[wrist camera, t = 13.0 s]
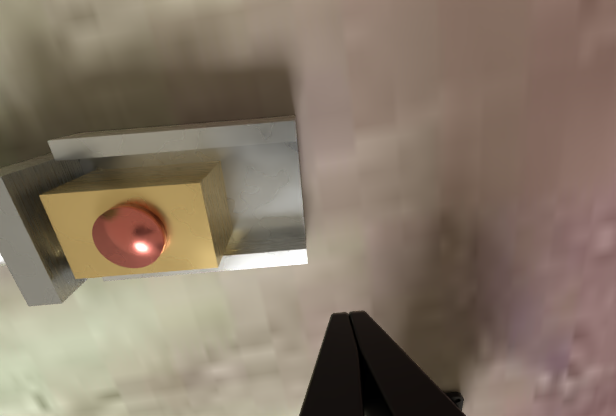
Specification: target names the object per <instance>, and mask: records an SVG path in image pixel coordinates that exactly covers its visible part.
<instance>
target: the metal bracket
mask: <svg viewBox="0 0 616 416" xmlns="http://www.w3.org/2000/svg"><path fill="white" fill-rule="evenodd" d="M48 144H49V146H50V149H51V151H52V153H49V154H46V155H42V156H39V157H36V158H32V159H29V160H26V161H22V162H19V163H16V164H12V165H9V166H5V167H2V168H0V266H3V265H7V267H8V269H9V271H10V273H11V274H12V276H13V278H14V280H15V282H16V284H17V286H18V287H19V289H20V291H21V293H22V295H23V297H24V299H25V300H26V302H27V304H28V306H37V305H48V304H60V303H63V302H64V301H65V300H66V299H67V298H68V297H69V296H70V295H71V294H72V293H73V292H74V291H75V290H76V289H77V288H78V287H79V286H80V285H81V284H83V283H84V282H85V281H86V280H87V279H88V278H82V279H75V277H74V275H73V272H72V270H71V268H70V265H69V263H68V261H67V258H66V256H65V254H64V252H63V249H62V247H61V245H60V242H59V240H58V238H57V236H56V233H55V231H54V229H53V226H52V224H51V222H50V219H49V217H48V215H47V213H46V210H45V208H44V206H43V203H42V201H41V199H40V197H39V195H40V194H43V193H45V192H47V191H49V190H51V189H54V188H56V187H58V186H60V185H63V184H65V183H67V182H69V181H72V180H74V179H76V178H78V177H80V176H83V175H85V174H87V173H89V172H92V171H94V170H104V169H117V168H131V167H144V166H157V165H170V164H184V163H197V162H210V161H221V167H222V172H223V178H224V183H225V189H226V194H227V200H228V205H229V211H230V216H231V222H232V227H233V232H232V235H231V237H230V240H229V242H228V245H227V247H226V250H225V252H224V255H223V257H222V259H221V262H220V264H219V267H218V268H207V269H195V270H182V271H170V272H157V273H145V274H132V275H120V276H107V277H102V278H103V281H111V280H123V279H134V278H146V277H158V276H169V275H181V274H192V273H204V272H216V271H227V270H239V269H251V268H262V267H274V266H286V265H297V264H308V262H307V248H306V236H305V224H304V213H303V201H302V190H301V178H300V166H299V155H298V143H297V132H296V120H295V115H293V116H281V117H269V118H256V119H244V120H231V121H219V122H207V123H194V124H182V125H170V126H157V127H145V128H132V129H120V130H108V131H95V132H83V133H77V134H72V135H68V136H64V137H60V138H56V139H52V140H48Z"/></svg>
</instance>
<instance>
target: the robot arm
mask: <svg viewBox="0 0 616 416" xmlns="http://www.w3.org/2000/svg"><path fill="white" fill-rule="evenodd" d="M463 401H464V399H463V397H462V395H461V394H460V393H459V392H453V393H444V392H443V391H442V390H441V389H440V388H439V387H438V386H437V385H436V384H435V383H434V382H433V381H432V380H431V379H430V378H429V377H428V376H427V375H426V374H425V373H424V372H423V371H422V370H421V369H420V368H419V367H418V366H417V364H416V363H415V362H414V361H413V360H412V359H411V358H410V357H409V356H408V355H407V354H406V353H405V352H404V351H403V350H402V349H401V348H400V347H399V346H398V345H397V344H396V343H395V342H394V341H393V340H392V339H391V338H390V337H389V335H388V334H387V333H386V332H385V331H384V330H383V329H382V328H381V327H380V326H379V325H378V324H377V323H376V322H375V321H374V320H373V319H372V318H371V317H370V316H369V315H368V314H367V313H366V312H365V311H352V312H349V314H348V313H346V312H341V313H333V314H332V315H331V317H330V320H329V323H328V327H327V330H326V333H325V336H324V339H323V342H322V345H321V348H320V352H319V355H318V358H317V361H316V364H315V367H314V370H313V373H312V377H311V380H310V383H309V386H308V389H307V392H306V395H305V399H304V402H303V405H302V408H301V411H300V414H299V416H466V415H465V414H464V413H463V412H462V406H463Z"/></svg>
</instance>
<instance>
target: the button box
mask: <svg viewBox="0 0 616 416" xmlns="http://www.w3.org/2000/svg"><path fill="white" fill-rule="evenodd" d="M39 197H40V199H41V201H42V203H43V206H44V208H45V210H46V213H47V215H48V217H49V219H50V222H51V224H52V226H53V229H54V231H55V233H56V236H57V238H58V240H59V242H60V245H61V247H62V249H63V252H64V254H65V256H66V258H67V261H68V263H69V265H70V268H71V270H72V272H73V275H74V277H75V279H82V278H95V277H107V276H120V275H132V274H145V273H157V272H170V271H182V270H195V269H207V268H218V267H219V264H220V262H221V259H222V257H223V255H224V252H225V250H226V247H227V245H228V242H229V240H230V237H231V235H232V232H233V227H232V222H231V216H230V211H229V205H228V200H227V194H226V189H225V183H224V178H223V172H222V167H221V161H210V162H197V163H184V164H170V165H157V166H144V167H131V168H117V169H104V170H94V171H92V172H89V173H87V174H85V175H83V176H80V177H78V178H76V179H74V180H72V181H69V182H67V183H65V184H63V185H60V186H58V187H56V188H54V189H51V190H49V191H47V192H45V193H43V194H40V195H39Z"/></svg>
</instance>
